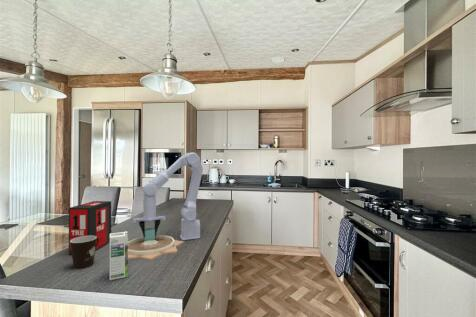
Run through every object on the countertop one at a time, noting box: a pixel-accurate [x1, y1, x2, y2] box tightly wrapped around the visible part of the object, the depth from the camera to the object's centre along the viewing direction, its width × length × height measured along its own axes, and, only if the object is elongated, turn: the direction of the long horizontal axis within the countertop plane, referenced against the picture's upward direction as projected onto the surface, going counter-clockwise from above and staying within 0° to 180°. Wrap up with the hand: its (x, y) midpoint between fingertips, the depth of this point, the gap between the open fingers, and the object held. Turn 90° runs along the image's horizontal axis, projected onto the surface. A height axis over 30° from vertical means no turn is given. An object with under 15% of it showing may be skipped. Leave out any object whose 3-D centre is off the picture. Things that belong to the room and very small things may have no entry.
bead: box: [145, 227, 155, 241], centre depth 116 cm, size 4×4×5 cm
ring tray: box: [128, 234, 185, 261], centre depth 110 cm, size 30×30×2 cm
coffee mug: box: [70, 236, 99, 270], centre depth 93 cm, size 12×9×10 cm
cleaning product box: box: [68, 200, 112, 256], centre depth 110 cm, size 16×9×20 cm, turn 178°
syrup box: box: [108, 230, 129, 281], centre depth 83 cm, size 6×6×14 cm
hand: (149, 236), depth 116 cm, fingers closed on bead, 4 cm apart
